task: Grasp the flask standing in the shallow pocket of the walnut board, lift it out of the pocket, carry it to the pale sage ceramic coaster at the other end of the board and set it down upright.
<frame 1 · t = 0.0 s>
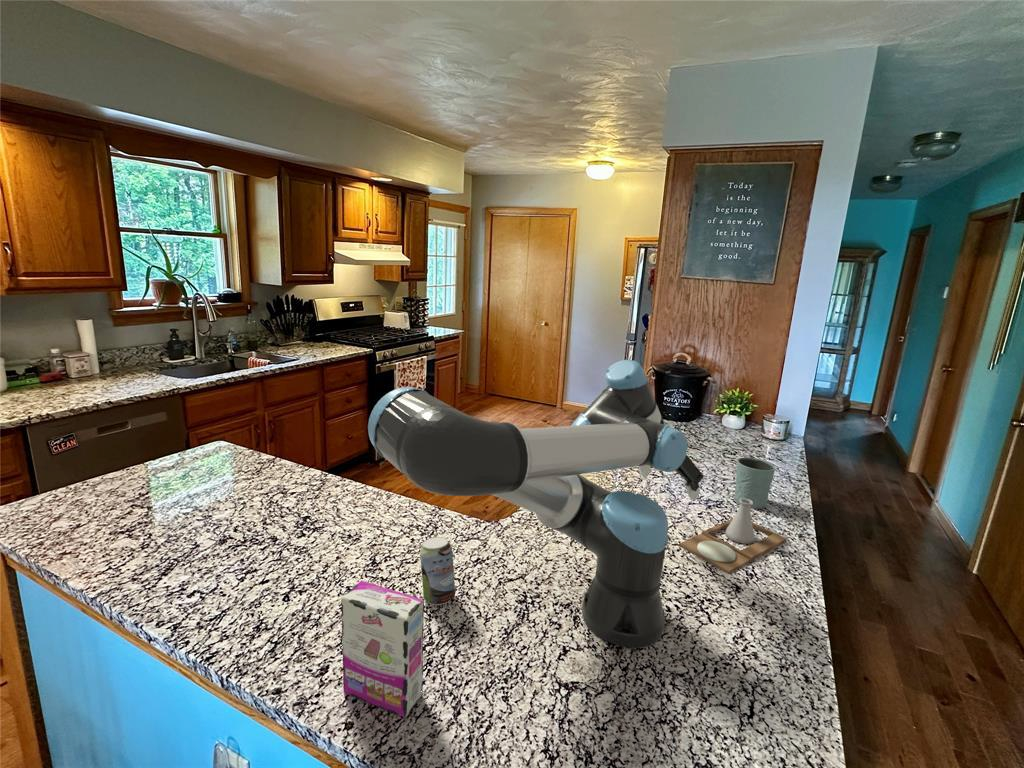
hand: (670, 484, 118), 15 cm above the worktop, tool tilted 35°, fingers open, 13 cm apart
board: (733, 543, 123), on the worktop
candy bar box: (383, 694, 75), on the worktop
beverage can: (437, 599, 97), on the worktop
green cup: (748, 502, 147), on the worktop
flask: (739, 537, 126), on the worktop
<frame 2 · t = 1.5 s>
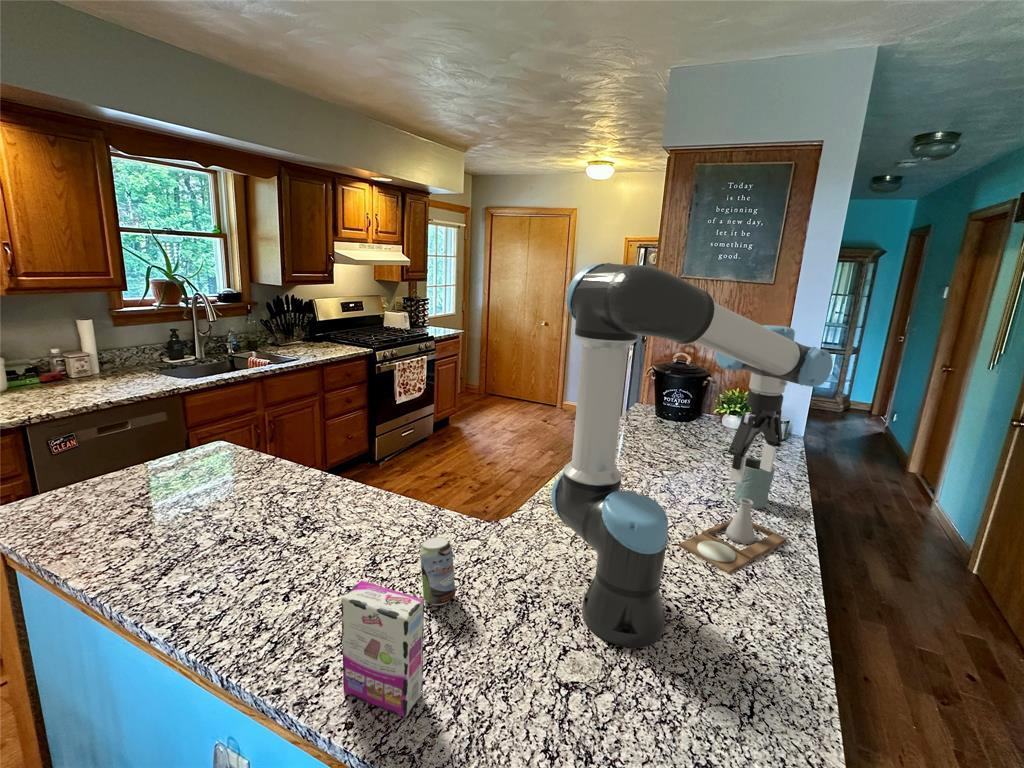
hand: (751, 475, 122), 17 cm above the worktop, tool pointing down, fingers open, 13 cm apart
nothing on the worktop moved.
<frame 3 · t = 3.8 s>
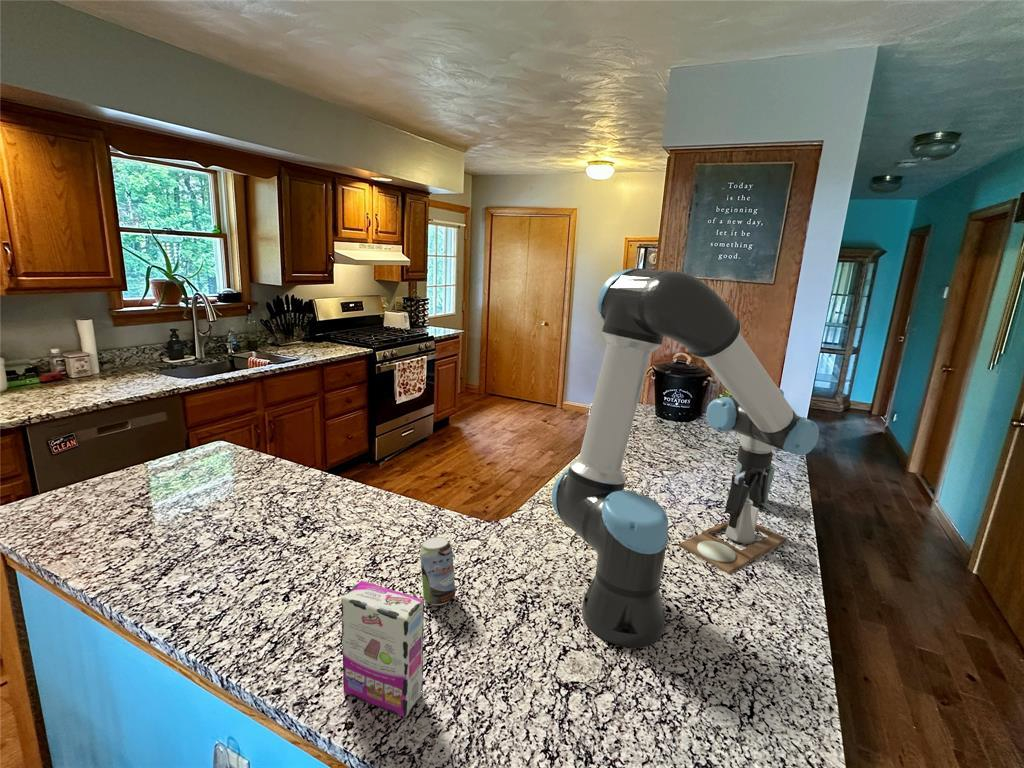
hand: (740, 533, 126), 1 cm above the worktop, tool pointing down, fingers closed on flask, 7 cm apart
flask: (739, 537, 126), on the worktop, touching gripper
everything else where it was.
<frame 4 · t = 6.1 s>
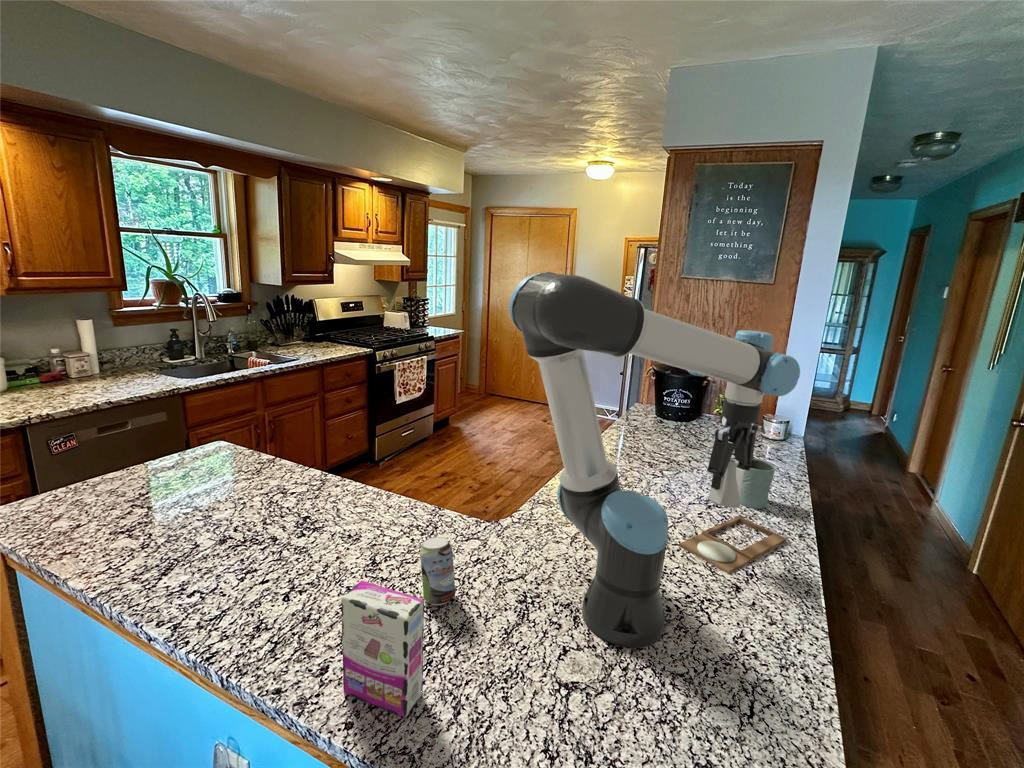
hand: (724, 497, 114), 14 cm above the worktop, tool pointing down, fingers closed on flask, 7 cm apart
flask: (723, 502, 115), point 13 cm above the worktop, touching gripper
everything else where it was.
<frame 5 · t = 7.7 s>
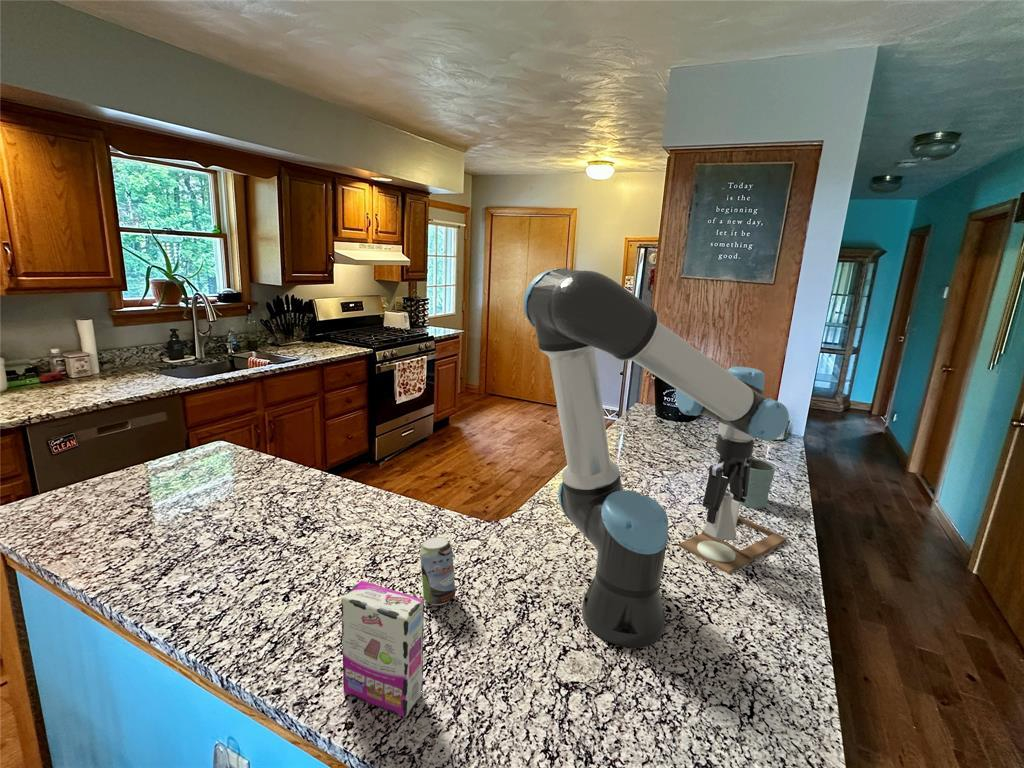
hand: (720, 529, 116), 6 cm above the worktop, tool pointing down, fingers closed on flask, 7 cm apart
flask: (719, 534, 116), point 5 cm above the worktop, touching gripper
everything else where it was.
when the fingers open (3 cm above the worktop, at t = 8.7 s): flask drops 1 cm, resting on board.
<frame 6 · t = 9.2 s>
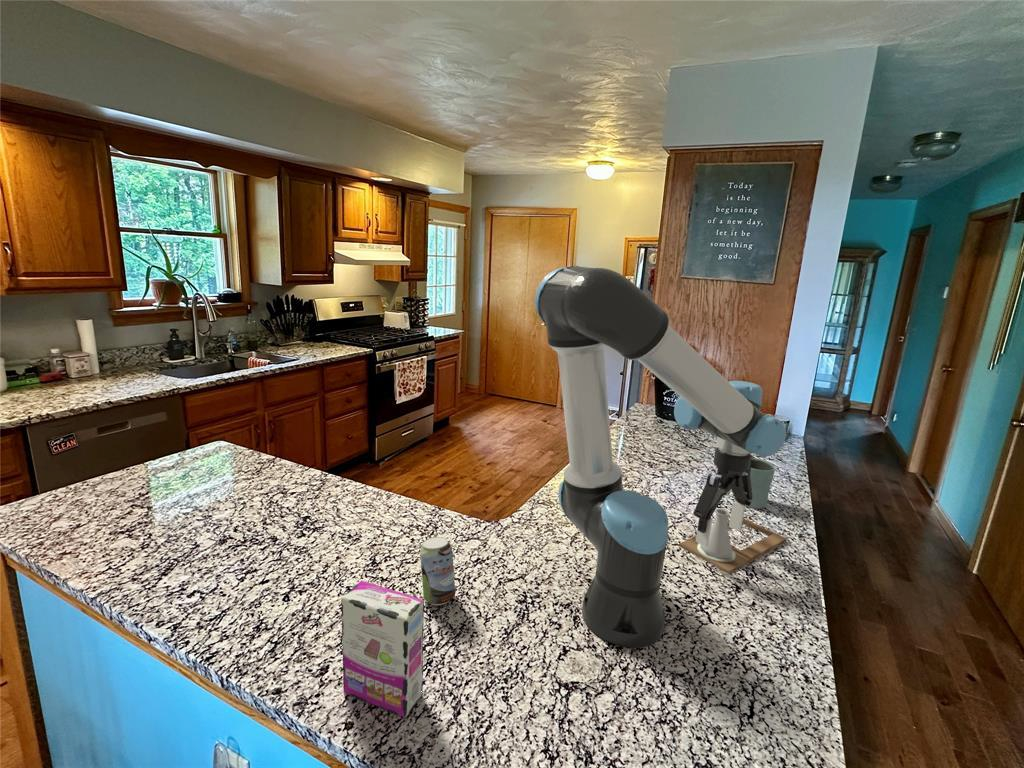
hand: (718, 536, 116), 5 cm above the worktop, tool pointing down, fingers open, 13 cm apart
flask: (715, 551, 117), point 1 cm above the worktop, touching board
everything else where it was.
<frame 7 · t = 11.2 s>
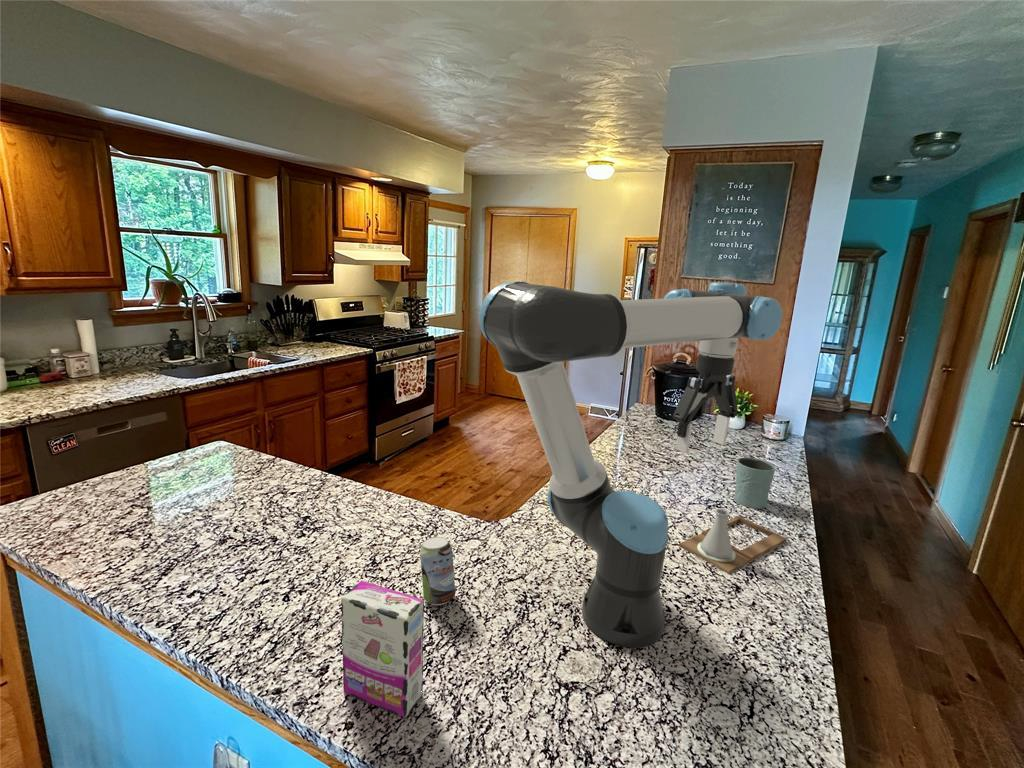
hand: (700, 446, 114), 26 cm above the worktop, tool pointing down, fingers open, 13 cm apart
nothing on the worktop moved.
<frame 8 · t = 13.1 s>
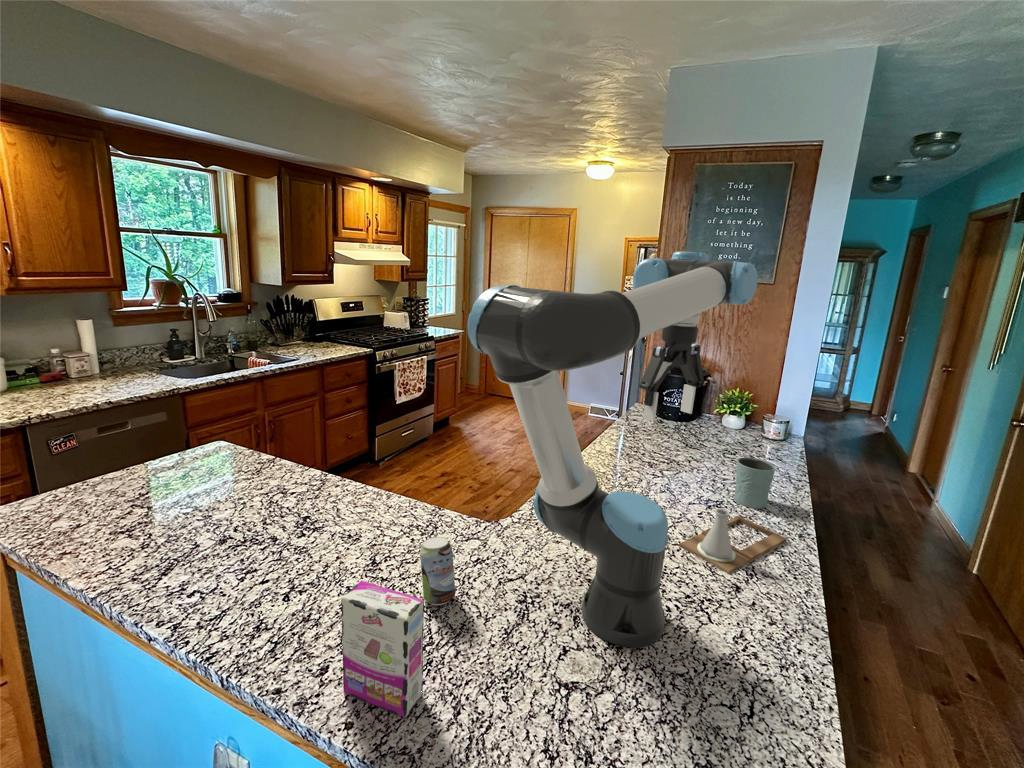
hand: (668, 415, 115), 32 cm above the worktop, tool pointing down, fingers open, 13 cm apart
nothing on the worktop moved.
at the end: flask inside the target area on the board (0.1 cm from its centre), point 0.9 cm above the board's base; flask tilted 0°; the gripper is holding nothing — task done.
